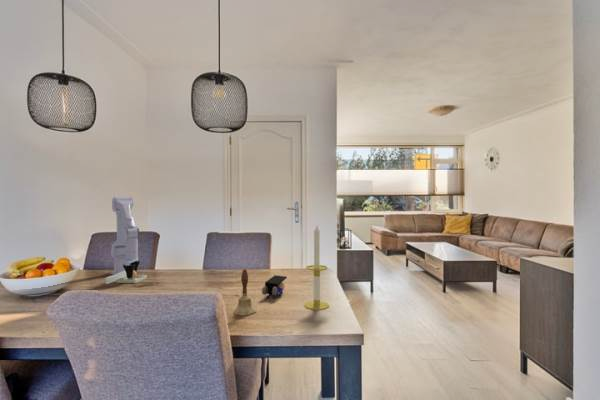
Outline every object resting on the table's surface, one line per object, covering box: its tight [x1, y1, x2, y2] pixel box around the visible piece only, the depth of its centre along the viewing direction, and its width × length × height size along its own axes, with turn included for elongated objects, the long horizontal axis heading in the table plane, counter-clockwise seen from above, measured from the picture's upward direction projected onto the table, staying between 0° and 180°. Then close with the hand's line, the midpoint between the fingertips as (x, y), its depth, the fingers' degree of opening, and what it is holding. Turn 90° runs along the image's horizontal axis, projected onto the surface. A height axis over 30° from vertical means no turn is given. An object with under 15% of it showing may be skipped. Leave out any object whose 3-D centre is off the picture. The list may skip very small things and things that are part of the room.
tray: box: [115, 274, 148, 284], centre depth 171 cm, size 11×11×1 cm
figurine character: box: [261, 275, 287, 300], centre depth 144 cm, size 7×8×15 cm
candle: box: [304, 225, 330, 311], centre depth 130 cm, size 10×10×32 cm
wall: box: [104, 271, 126, 285], centre depth 171 cm, size 16×1×3 cm, turn 176°
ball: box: [126, 270, 138, 280], centre depth 171 cm, size 5×5×5 cm
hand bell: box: [233, 268, 257, 317], centre depth 123 cm, size 8×8×16 cm
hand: (131, 276), depth 171 cm, fingers open, 6 cm apart
